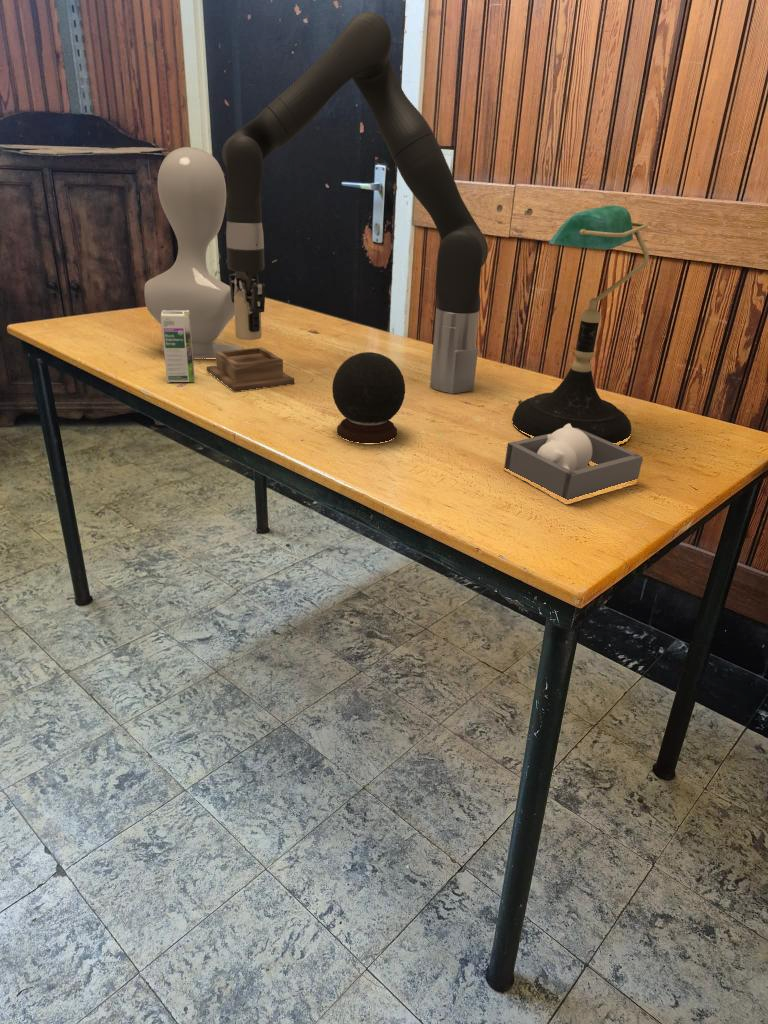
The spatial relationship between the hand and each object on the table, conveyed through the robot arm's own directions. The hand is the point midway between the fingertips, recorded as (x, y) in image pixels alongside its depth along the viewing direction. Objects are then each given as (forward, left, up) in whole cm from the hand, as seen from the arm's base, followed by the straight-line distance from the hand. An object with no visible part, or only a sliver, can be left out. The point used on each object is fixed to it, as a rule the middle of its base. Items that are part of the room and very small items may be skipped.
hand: (248, 327), depth 152 cm
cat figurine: (-70, -25, -11) cm, 75 cm away
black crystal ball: (-40, -6, -11) cm, 42 cm away
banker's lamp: (-55, -44, -11) cm, 71 cm away
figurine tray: (-72, -26, -11) cm, 77 cm away
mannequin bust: (+25, +2, -11) cm, 27 cm away
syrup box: (+5, +14, -11) cm, 19 cm away
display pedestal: (0, 0, -11) cm, 11 cm away
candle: (0, 0, -2) cm, 2 cm away
